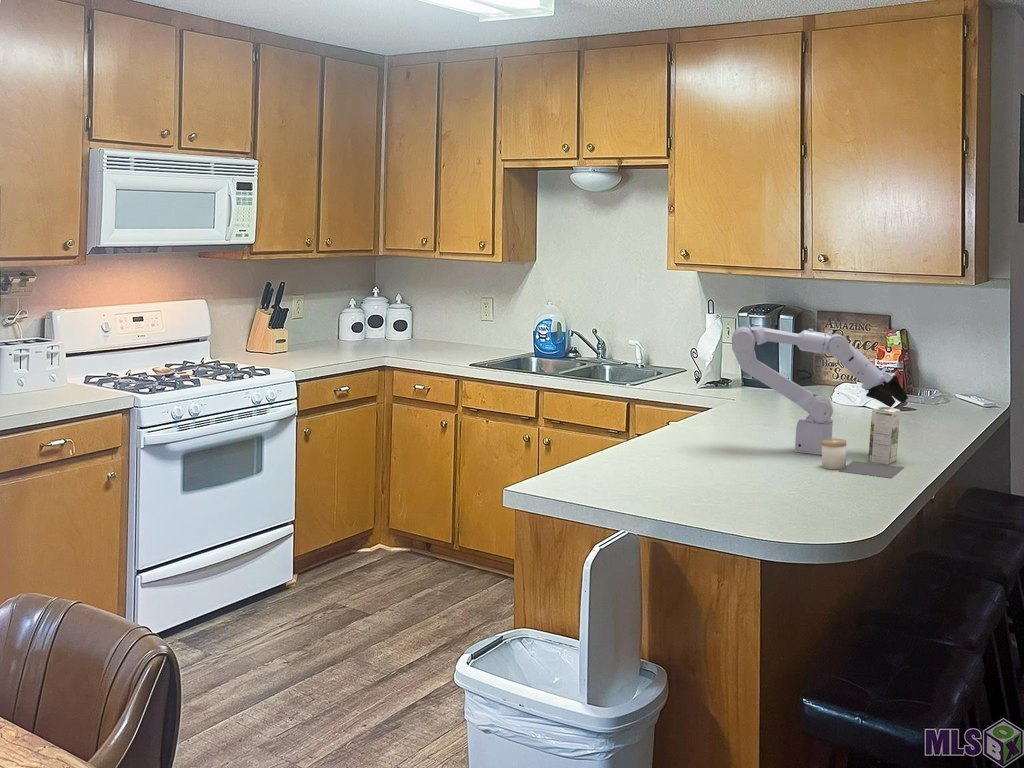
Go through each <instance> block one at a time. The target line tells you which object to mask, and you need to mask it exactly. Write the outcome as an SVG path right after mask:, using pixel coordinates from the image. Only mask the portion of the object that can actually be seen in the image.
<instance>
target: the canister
mask: <svg viewBox="0 0 1024 768" xmlns="http://www.w3.org/2000/svg"><path fill="white" fill-rule="evenodd" d="M821 444H822V455H821V468H824V469H827V470H841V469H844V468H846V466H847V439H844V438H835V437H834V438H833V437H832V438H830V439H823V440H821Z"/></svg>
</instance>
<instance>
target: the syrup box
mask: <svg viewBox="0 0 1024 768" xmlns="http://www.w3.org/2000/svg"><path fill="white" fill-rule="evenodd" d="M900 417H901V409H898V408H894V407H889V406H888V407H887V406H879V407H876V408H874V409H872V410H871V420H870V433H869V446H868V447H869V448H868V457H867V458H868V459H867V460H868V463H875V464H883V465H891V464H893V463H895V462H896V461H897V455H898V445H899V444H898V440H899V433H900V430H899V429H900V428H899V427H900Z"/></svg>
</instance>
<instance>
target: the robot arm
mask: <svg viewBox="0 0 1024 768" xmlns="http://www.w3.org/2000/svg"><path fill="white" fill-rule="evenodd" d="M767 342H772V343H779V344H785V345H786V344H787V345H794V346H797V348H798V349H799V351H802V352H803V351H804V352H809V353H814V354H815V353H816V354H821V355H825V354H828V353H829V355H830V356H831V357H833V358H836V359H837V360H838V361H839V362H840V363H841V365H842V366H843V367H844V368H845V369H846V370H847V371H848V372H850V373H851V374H852V375H853V376H854V377H855V378H856V379H857V380H858V381H859V382H861V384H862V385H861V386H860V387H861V388H862V389H863V390H864V391H866V392H867V391H868V392H867V393H866V394H865V396H866V397H867V398H871V399H874V400H876V401H878V402H880V403H882V404H883V405H885V406H886V407H887V406H888V407H890V408H893V406H894V404H896V402H897V401H898V402H900V403H902V404H904V403H906V401H907V400H908V399H909V396H908V394H907V393H906V392H905V390H904V389H903V388H902V385H901V383H900V381H899V378H898V376H897V374H894V375H892V374H890V373H889V372H887V371H886V369H885V368H883V369H881V370H880V369H879V368H878V367H877V366H876V365H875V364H874V363H872V362H871V360H869V358H867V357H866V356H865V355H864V354H863V353H862V352H861V351H860V350H859V349H856V347H854V345H852V344H850V343H849V342H850V341H848V339H847V338H845V336H843V335H841V334H839V333H833V334H832V332H831V331H830V332H829V331H827V333H826V332H820V331H819V332H818V331H814V329H813V328H808V330H807V329H803V330H802V331H801V332H799V333H795V332H790V331H785V330H779V329H774V328H769V327H764V326H763V327H762V326H761V327H760V326H750V327H749V326H747V325H742V326H739V327H737V328H736V329H735V330H734V331H733V333H732V336H731V347H732V348H731V349H732V352H733V354H734V356H735V358H736V361H737V363H738V365H739V367H740V369H741V370H742V371H743V372H744V373H746V374H748V375H749V376H751V377H752V378H754V379H756V380H757V381H759V382H761V383H762V384H764V386H767V387H768V388H770V389H772V390H774V391H775V392H777V393H778V394H780V395H781V396H783V397H785V398H787V399H788V400H790V401H791V402H794V404H796V405H798V406H799V407H800V408H801V409H803V410H804V411H805V412H807V413H808V415H807V416H806V417H805V419H802V418H801V419H799V420H798V421H797V423H796V428H795V444H794V445H795V446H794V451H793V452H794V453H801V454H802V453H803V454H809V455H810V454H811V455H816V456H822V444H821V440H823V439H830V438H833V424H834V422H833V421H834V419H832V418H831V417H832V416H833V412H834V411H833V410H834V409H833V406H832V405H831V401H830V400H829V398H828V397H827V396H825V395H823V394H816V393H814V392H812V391H811V390H808V389H806V388H804V387H802V386H801V385H799V384H798V383H796V382H794V381H793V380H791V379H789V378H788V377H786V376H785V375H783V374H781V373H780V372H778V371H776V370H775V369H773V368H771V367H770V366H768V365H767V364H765V363H764V362H762V361H760V360H758V359H757V355H756V351H755V345H757V346H759V345H762V344H765V343H767ZM896 400H897V401H896Z"/></svg>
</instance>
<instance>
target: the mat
mask: <svg viewBox="0 0 1024 768" xmlns="http://www.w3.org/2000/svg"><path fill="white" fill-rule="evenodd" d="M904 469H905V466H898V465H891V464H889V465H888V464H881V463H875V462H867V461H859V460H858V461H857V460H852V461H851V462H850V463H848V464H846V468H844V469H838V472H839V473H847V474H854V475H860V476H861V475H862V476H867V475H869V476H870V477H875V476H876V477H877V478H884V479H893V478H894V477H895V476H896V475H898V474H899V472H901V471H902V470H904Z"/></svg>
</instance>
